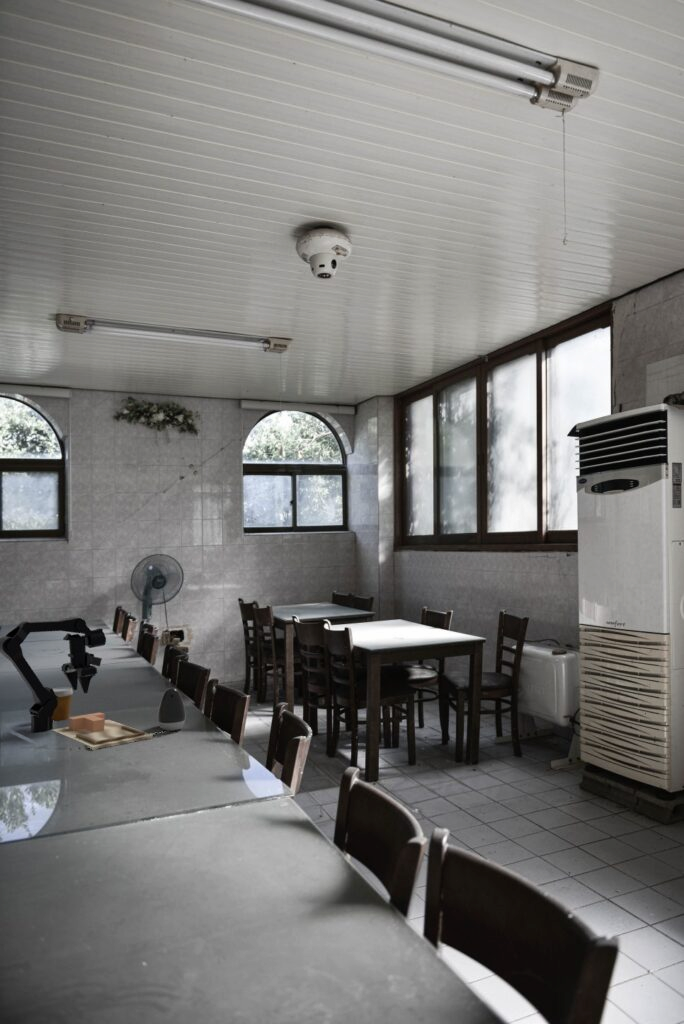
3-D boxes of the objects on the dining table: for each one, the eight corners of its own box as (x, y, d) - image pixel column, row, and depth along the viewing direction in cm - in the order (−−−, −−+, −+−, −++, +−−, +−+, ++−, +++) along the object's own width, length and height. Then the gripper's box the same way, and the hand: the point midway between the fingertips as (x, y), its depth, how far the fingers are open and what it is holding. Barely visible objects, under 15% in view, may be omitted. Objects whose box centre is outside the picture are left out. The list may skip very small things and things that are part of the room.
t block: (82, 734, 257) (82, 723, 257) (68, 728, 266) (68, 717, 266) (114, 728, 265) (114, 717, 265) (99, 723, 274) (99, 712, 274)
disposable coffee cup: (77, 717, 288) (77, 687, 288) (65, 723, 278) (66, 691, 279) (54, 717, 289) (54, 687, 289) (42, 723, 279) (42, 691, 280)
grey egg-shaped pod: (157, 734, 260) (157, 691, 261) (157, 727, 270) (157, 686, 271) (186, 731, 263) (186, 689, 264) (185, 725, 273) (185, 684, 274)
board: (92, 750, 240) (92, 744, 240) (51, 732, 264) (51, 727, 264) (152, 737, 255) (152, 732, 255) (108, 722, 279) (108, 717, 280)
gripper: (109, 648, 273) (111, 690, 273) (87, 644, 287) (90, 683, 287) (80, 654, 266) (83, 696, 266) (59, 649, 279) (62, 690, 279)
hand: (80, 691), depth 274 cm, fingers open, 9 cm apart
